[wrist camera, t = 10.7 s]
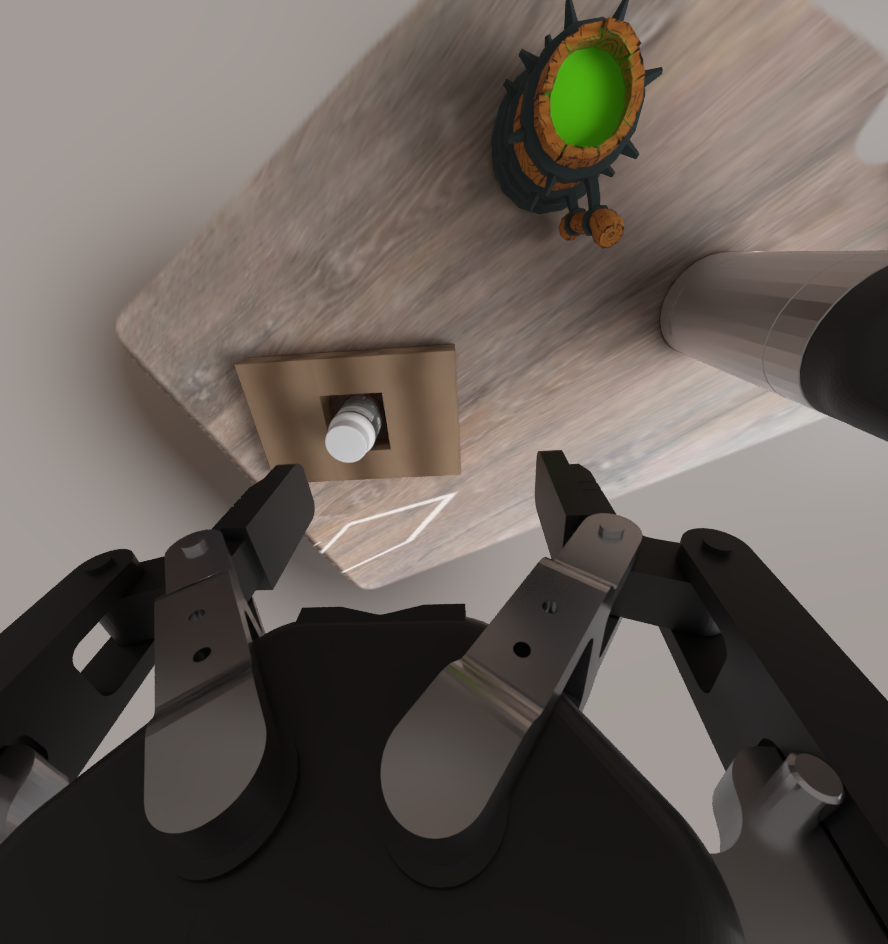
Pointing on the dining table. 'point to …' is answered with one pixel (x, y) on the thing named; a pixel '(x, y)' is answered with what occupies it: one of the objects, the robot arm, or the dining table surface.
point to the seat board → (356, 372)
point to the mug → (572, 122)
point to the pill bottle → (354, 428)
